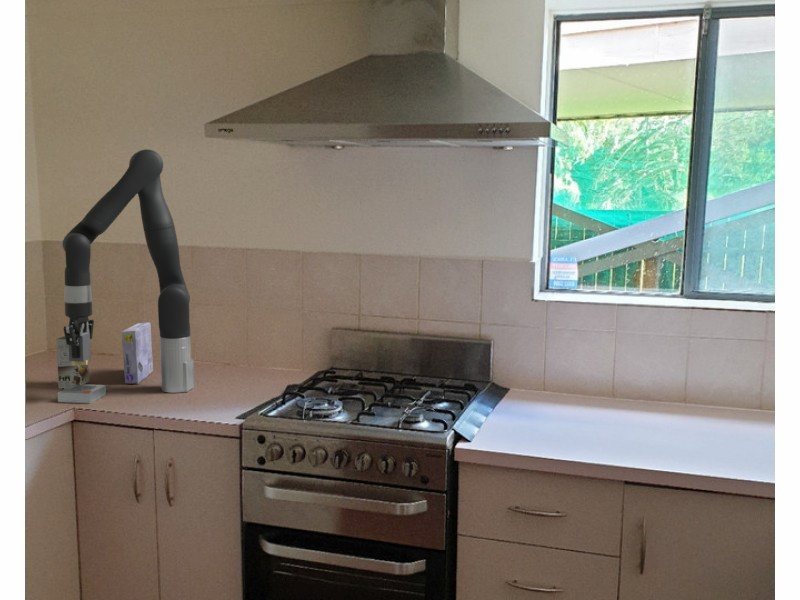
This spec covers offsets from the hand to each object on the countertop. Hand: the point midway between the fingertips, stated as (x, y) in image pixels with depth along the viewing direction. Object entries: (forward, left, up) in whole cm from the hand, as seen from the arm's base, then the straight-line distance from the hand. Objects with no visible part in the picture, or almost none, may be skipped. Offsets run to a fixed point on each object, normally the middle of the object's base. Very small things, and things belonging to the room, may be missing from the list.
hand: (80, 356), depth 231 cm
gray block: (0, 0, -2) cm, 2 cm away
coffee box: (+10, -14, -13) cm, 22 cm away
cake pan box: (-6, -27, -13) cm, 31 cm away
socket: (0, 0, -13) cm, 13 cm away
